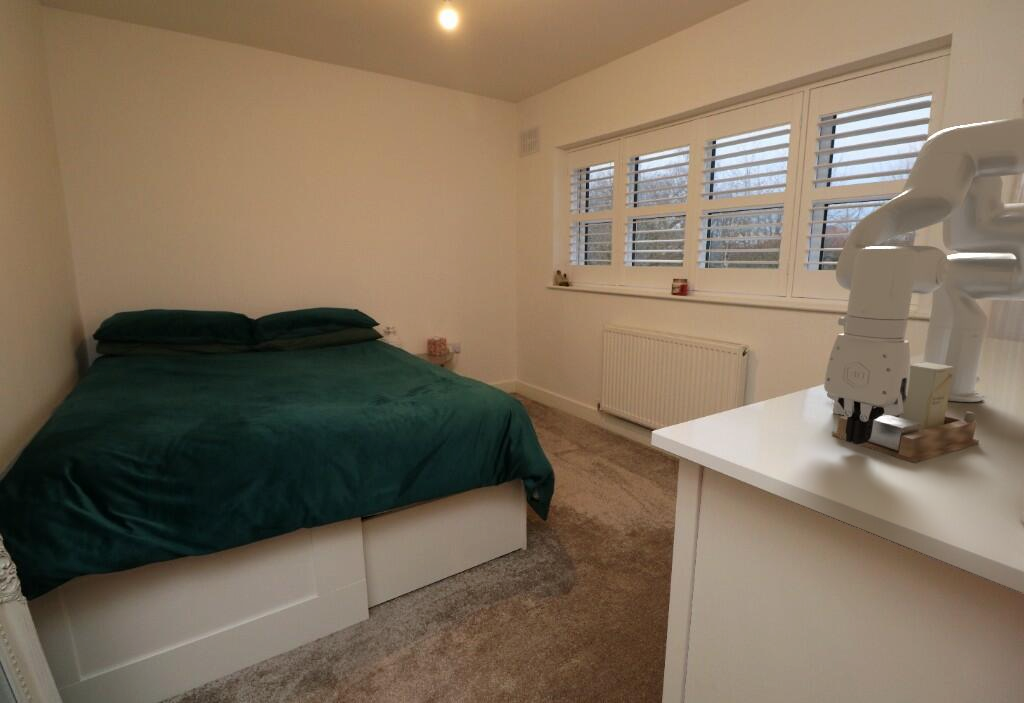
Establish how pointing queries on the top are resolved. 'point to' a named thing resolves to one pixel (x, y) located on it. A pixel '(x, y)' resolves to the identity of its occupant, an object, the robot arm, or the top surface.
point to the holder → (927, 438)
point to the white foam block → (891, 430)
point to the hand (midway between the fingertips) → (856, 441)
